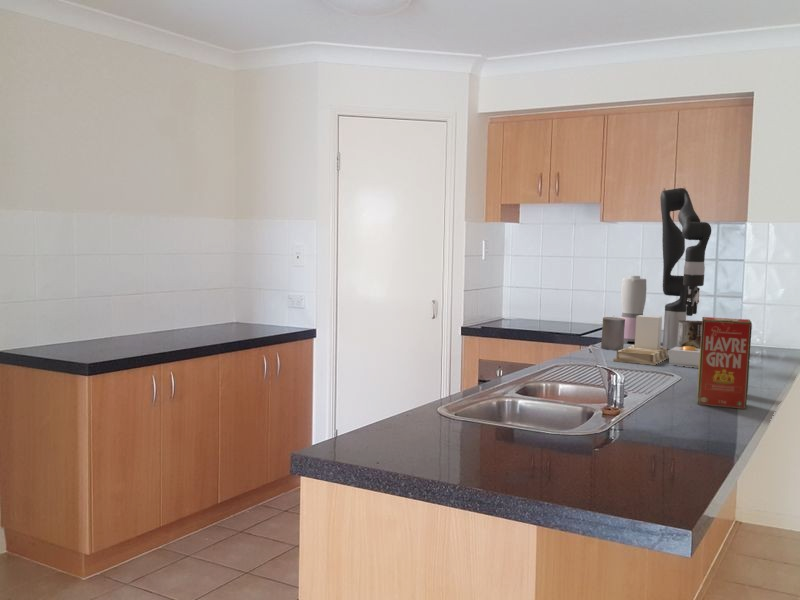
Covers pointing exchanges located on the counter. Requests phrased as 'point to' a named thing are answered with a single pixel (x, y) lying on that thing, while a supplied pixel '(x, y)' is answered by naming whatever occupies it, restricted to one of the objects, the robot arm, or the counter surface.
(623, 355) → the pallet
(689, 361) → the console
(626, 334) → the blender
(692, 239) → the robot arm
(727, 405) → the food packaging
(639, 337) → the carton
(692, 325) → the coffee box
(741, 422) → the counter surface
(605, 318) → the pillar candle
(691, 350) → the button
